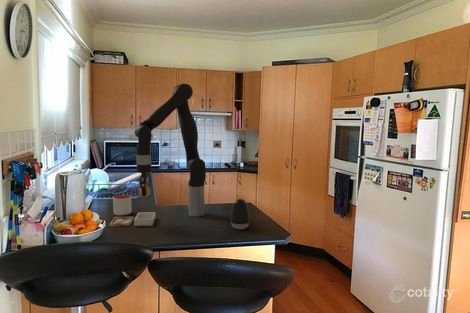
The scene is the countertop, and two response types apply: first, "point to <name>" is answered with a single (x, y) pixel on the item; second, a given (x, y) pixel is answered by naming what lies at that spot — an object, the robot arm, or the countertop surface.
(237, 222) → the black tapered speaker
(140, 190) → the ball
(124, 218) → the tray
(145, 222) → the bin
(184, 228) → the countertop surface
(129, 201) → the cup
